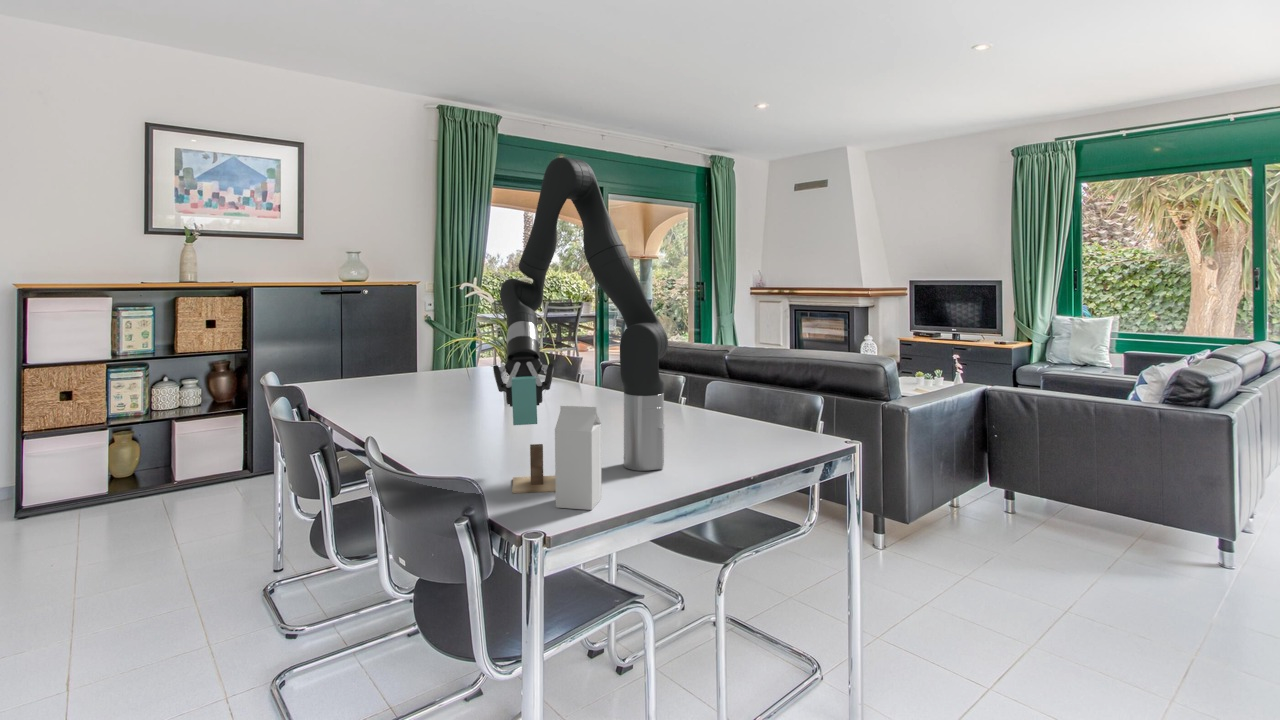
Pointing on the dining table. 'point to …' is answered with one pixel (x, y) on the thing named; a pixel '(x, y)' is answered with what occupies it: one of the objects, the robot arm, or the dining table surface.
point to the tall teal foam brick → (524, 400)
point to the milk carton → (578, 457)
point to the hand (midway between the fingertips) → (524, 403)
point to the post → (534, 475)
